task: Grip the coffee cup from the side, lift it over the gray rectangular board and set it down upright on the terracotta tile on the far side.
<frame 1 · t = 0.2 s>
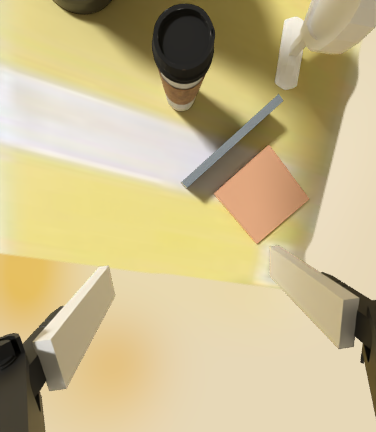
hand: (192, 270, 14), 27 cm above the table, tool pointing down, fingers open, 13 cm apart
coffee cup: (180, 96, 37), on the table
terracotta tile: (260, 196, 41), on the table
heart sculpture: (290, 55, 37), on the table
gray rectangular board: (223, 148, 39), on the table
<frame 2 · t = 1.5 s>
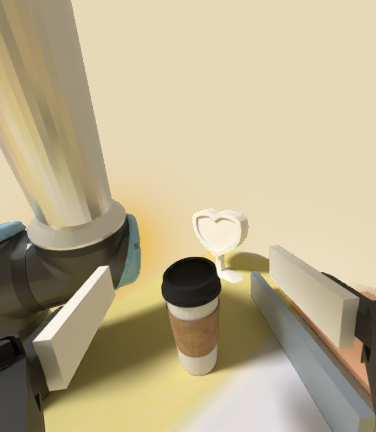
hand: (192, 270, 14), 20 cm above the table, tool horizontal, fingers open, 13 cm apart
coffee cup: (198, 356, 28), on the table
terracotta tile: (370, 334, 29), on the table
heart sculpture: (220, 272, 51), on the table
gray rectangular board: (285, 344, 28), on the table
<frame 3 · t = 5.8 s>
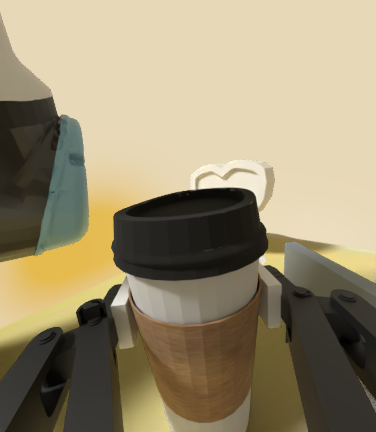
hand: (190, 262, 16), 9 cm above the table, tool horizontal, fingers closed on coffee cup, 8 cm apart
coffee cup: (207, 401, 13), on the table, touching gripper
heart sculpture: (231, 255, 36), on the table
when the fingers open (10 cm above the table, at t = 12.1 s): coffee cup stays where it is, resting on terracotta tile.
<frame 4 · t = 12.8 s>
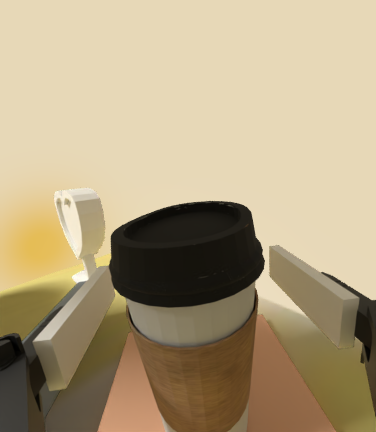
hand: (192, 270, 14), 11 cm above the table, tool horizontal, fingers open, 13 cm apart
coffee cup: (205, 412, 13), point 1 cm above the table, touching terracotta tile
terracotta tile: (209, 419, 13), on the table
heart sculpture: (93, 281, 35), on the table
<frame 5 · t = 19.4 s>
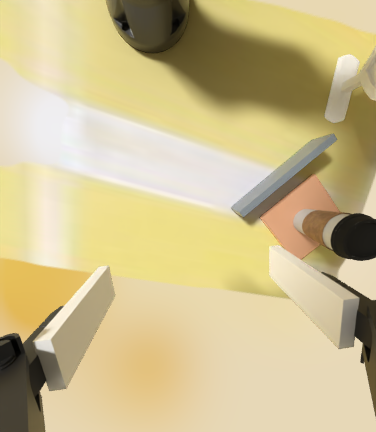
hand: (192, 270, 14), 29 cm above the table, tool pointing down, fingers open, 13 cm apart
coffee cup: (303, 220, 44), point 1 cm above the table, touching terracotta tile
terracotta tile: (302, 220, 45), on the table
heart sculpture: (340, 90, 39), on the table
gray rectangular board: (271, 177, 42), on the table
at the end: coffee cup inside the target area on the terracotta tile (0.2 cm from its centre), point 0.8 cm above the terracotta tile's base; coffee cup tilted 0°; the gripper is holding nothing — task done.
